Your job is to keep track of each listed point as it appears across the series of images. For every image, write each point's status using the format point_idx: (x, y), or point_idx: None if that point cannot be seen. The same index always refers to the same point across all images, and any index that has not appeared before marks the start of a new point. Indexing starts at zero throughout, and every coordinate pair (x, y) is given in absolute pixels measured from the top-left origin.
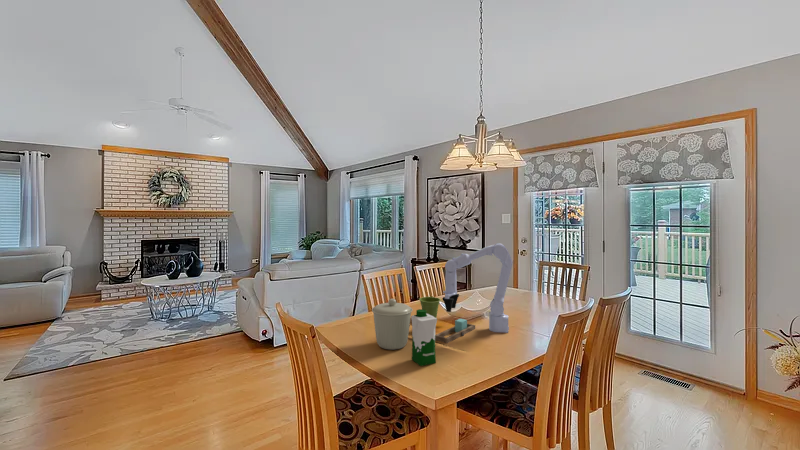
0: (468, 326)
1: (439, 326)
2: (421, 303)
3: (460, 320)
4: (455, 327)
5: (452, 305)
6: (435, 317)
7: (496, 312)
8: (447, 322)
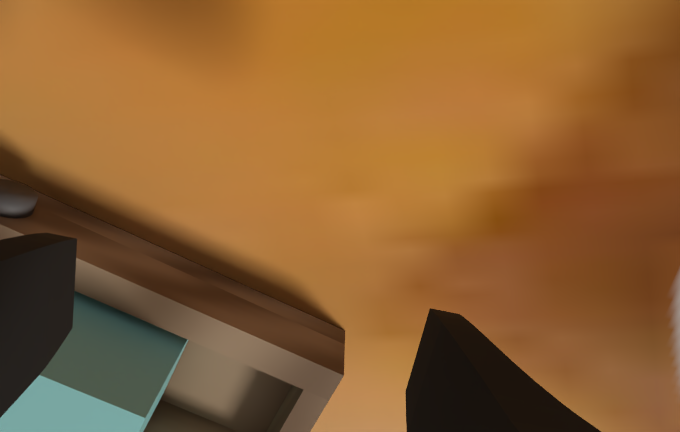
0: (278, 420)
1: (344, 12)
2: None
3: (31, 425)
4: None
5: (433, 380)
6: None
7: None
8: (570, 114)
